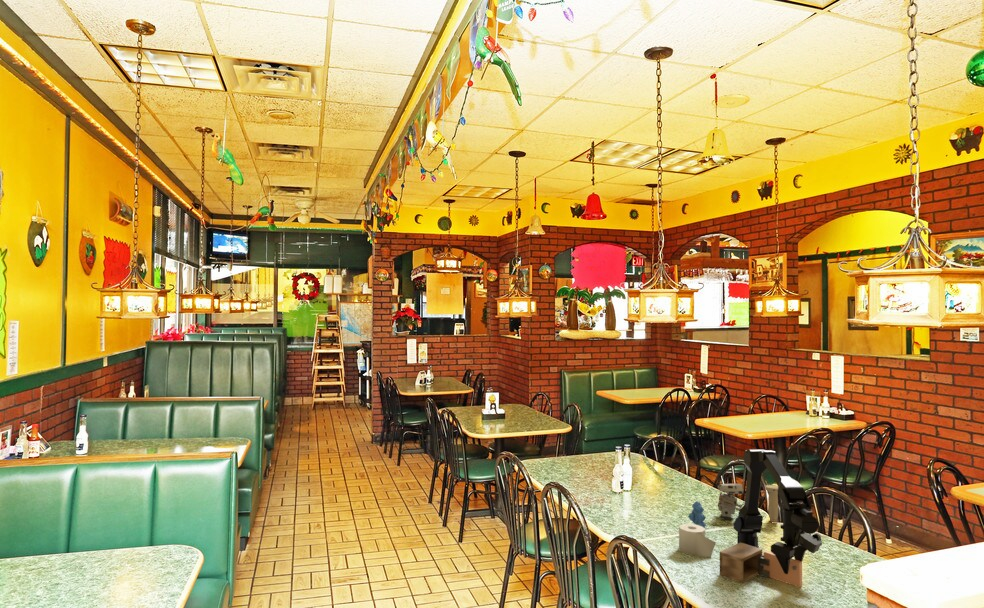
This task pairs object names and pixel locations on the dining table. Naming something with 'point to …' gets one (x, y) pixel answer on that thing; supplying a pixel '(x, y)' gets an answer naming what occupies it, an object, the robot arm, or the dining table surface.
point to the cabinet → (739, 562)
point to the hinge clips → (761, 563)
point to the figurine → (729, 499)
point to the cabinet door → (777, 571)
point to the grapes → (697, 514)
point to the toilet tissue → (695, 541)
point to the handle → (773, 502)
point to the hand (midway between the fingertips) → (792, 570)
